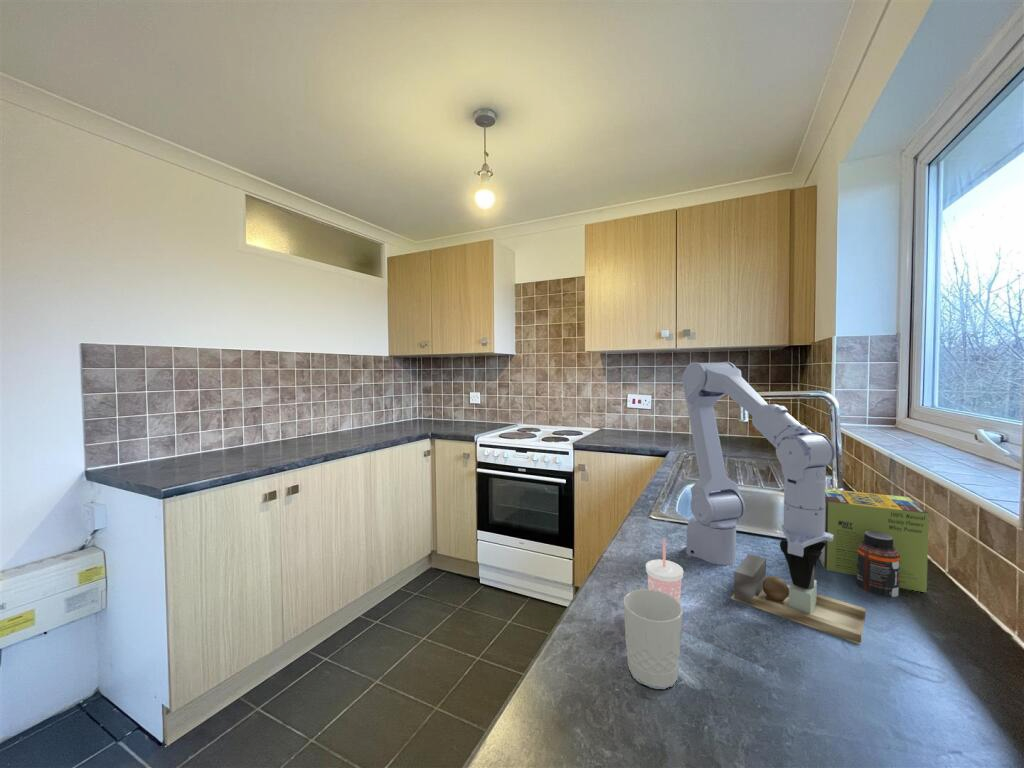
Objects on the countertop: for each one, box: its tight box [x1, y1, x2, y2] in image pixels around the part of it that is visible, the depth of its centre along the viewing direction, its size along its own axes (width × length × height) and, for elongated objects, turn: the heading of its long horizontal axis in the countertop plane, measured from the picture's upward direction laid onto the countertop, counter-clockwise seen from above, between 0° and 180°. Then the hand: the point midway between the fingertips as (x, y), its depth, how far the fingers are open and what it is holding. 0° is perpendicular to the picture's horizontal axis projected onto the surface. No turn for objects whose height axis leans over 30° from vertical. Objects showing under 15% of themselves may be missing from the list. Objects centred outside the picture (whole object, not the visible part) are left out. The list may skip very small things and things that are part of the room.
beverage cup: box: [645, 538, 684, 604], centre depth 70 cm, size 6×6×14 cm
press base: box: [730, 553, 867, 645], centre depth 71 cm, size 18×10×6 cm, turn 46°
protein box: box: [818, 488, 930, 592], centre depth 84 cm, size 10×15×16 cm
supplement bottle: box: [856, 531, 900, 598], centre depth 76 cm, size 6×6×11 cm
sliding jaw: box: [789, 568, 818, 615], centre depth 70 cm, size 3×6×8 cm, turn 136°
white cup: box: [623, 588, 683, 687], centre depth 58 cm, size 8×8×10 cm
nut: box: [762, 575, 789, 604], centre depth 73 cm, size 4×4×4 cm
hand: (802, 581), depth 70 cm, fingers closed on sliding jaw, 3 cm apart
